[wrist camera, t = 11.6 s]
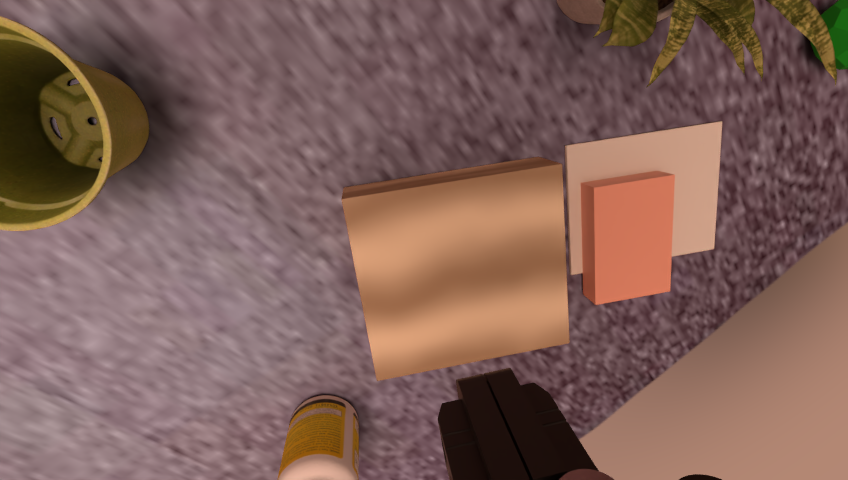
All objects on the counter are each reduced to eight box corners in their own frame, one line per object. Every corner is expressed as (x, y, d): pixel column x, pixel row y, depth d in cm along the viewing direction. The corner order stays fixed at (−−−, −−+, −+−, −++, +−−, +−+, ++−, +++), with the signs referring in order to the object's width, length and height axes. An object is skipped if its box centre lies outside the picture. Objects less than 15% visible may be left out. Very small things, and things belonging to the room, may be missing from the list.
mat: (564, 145, 33) (566, 145, 32) (719, 121, 34) (722, 121, 33) (569, 273, 36) (571, 275, 35) (711, 247, 37) (713, 248, 36)
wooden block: (343, 187, 31) (341, 199, 28) (538, 156, 33) (561, 163, 29) (375, 350, 35) (377, 380, 32) (547, 318, 37) (569, 343, 33)
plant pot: (143, 22, 27) (49, -13, 19) (202, 176, 30) (142, 204, 22) (-19, 57, 26) (-189, 37, 18) (57, 210, 29) (-60, 252, 21)
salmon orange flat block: (674, 174, 32) (657, 170, 34) (593, 187, 31) (580, 182, 33) (670, 291, 35) (654, 281, 37) (595, 304, 34) (583, 294, 36)
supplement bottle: (275, 420, 36) (246, 530, 27) (329, 380, 36) (318, 478, 26) (320, 460, 38) (308, 578, 28) (372, 423, 37) (376, 530, 28)
